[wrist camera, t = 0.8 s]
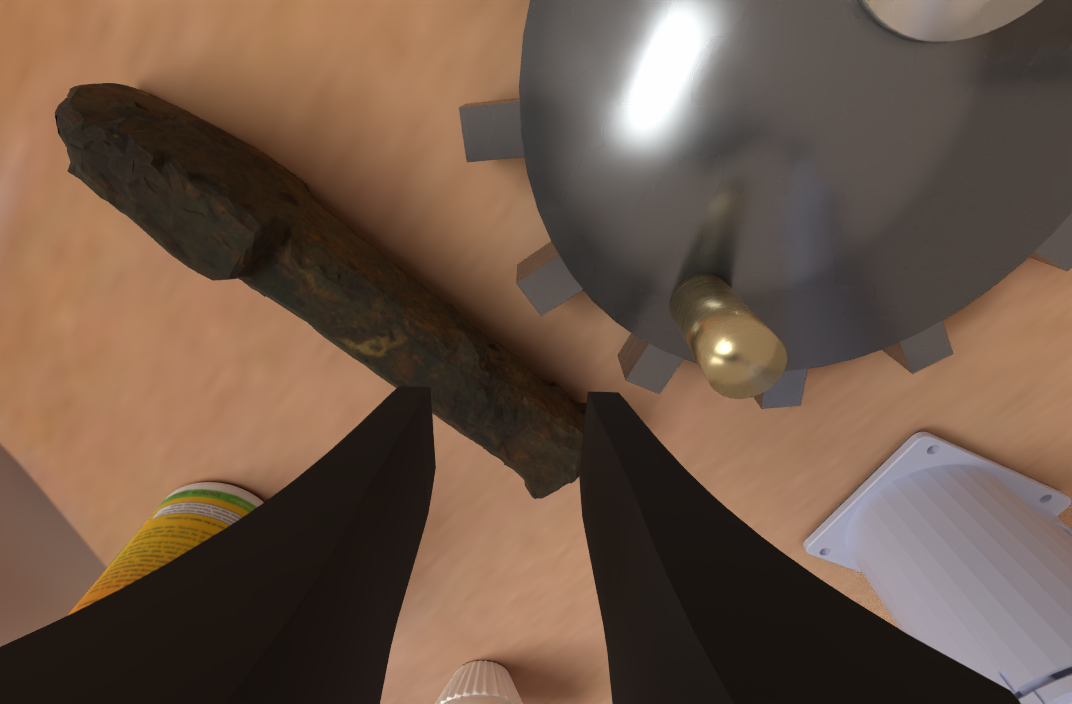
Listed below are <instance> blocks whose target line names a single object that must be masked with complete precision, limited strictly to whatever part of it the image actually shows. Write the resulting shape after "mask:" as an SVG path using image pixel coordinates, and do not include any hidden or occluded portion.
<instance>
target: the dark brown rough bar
mask: <svg viewBox="0 0 1072 704" xmlns="http://www.w3.org/2000/svg"><path fill="white" fill-rule="evenodd" d="M55 118H56V125H57V129H58V134H59V135H60V137H61V139H62V140H63V142H64V144H65V145H66V147H67V152H68V155H69V158H70V161H71V163H70V166H69V168H68V172H69V173H71V174H73V175H74V176H76V177H77V178H79V179H80V180H82V181H83V182H84V183H85V184H86V185H87V186H88V187H89V188H90V189H92V190H93V191H94V192H95V193H96V194H97V195H98V196H99V197H100V198H102V199H104V200H106V201H108V202H109V203H110V204H112V205H113V206H114V207H115V208H116V209H118V210H119V211H120V212H122V213H123V214H125V215H127V216H128V217H129V218H130V219H131V220H133V221H134V222H135V223H136V224H137V225H138V226H139V227H140V228H142V229H143V230H144V231H145V232H146V233H147V234H148V235H149V236H151V237H152V238H153V239H154V240H155V241H156V242H157V243H158V244H159V245H160V246H162V247H163V248H164V249H165V250H166V251H167V252H168V253H170V254H171V255H172V256H173V257H175V258H176V259H178V260H179V261H180V262H182V263H183V264H185V265H186V266H187V267H189V268H191V269H192V270H194V271H196V272H197V273H199V274H201V275H203V276H205V277H207V278H209V279H211V280H228V279H236V278H238V279H240V280H242V281H243V282H244V283H246V284H247V285H248V286H249V287H251V288H252V289H254V290H256V291H258V292H260V293H261V294H262V295H263V296H265V297H266V296H267V297H268V298H270V299H272V300H273V301H275V302H276V303H278V304H279V305H281V306H283V307H284V308H286V309H287V310H289V311H290V312H292V313H293V314H295V315H296V316H298V317H299V318H301V319H303V320H304V321H306V322H308V324H310V325H311V326H312V327H313V328H314V329H315V330H316V331H317V332H319V333H320V334H321V335H322V336H323V337H325V338H326V339H328V340H329V341H330V342H332V343H333V344H335V345H336V346H338V347H339V348H340V349H342V350H343V351H345V352H346V353H347V354H349V355H350V356H352V357H353V358H355V359H356V360H358V361H359V362H361V363H362V364H364V365H365V366H367V367H368V368H369V369H370V370H372V371H373V372H374V373H375V374H377V375H378V376H380V377H381V378H383V379H384V380H385V381H387V382H388V383H390V384H391V385H393V386H394V387H396V388H398V387H399V386H410V387H430V389H431V404H432V413H433V414H434V415H436V416H437V417H438V418H440V419H441V420H443V421H444V422H445V423H447V424H448V425H450V426H452V427H453V428H454V429H455V430H457V431H458V432H459V433H461V434H463V435H464V436H466V437H468V438H469V439H471V440H473V441H474V442H475V443H477V444H479V445H480V446H482V447H483V448H484V449H486V450H487V451H488V452H489V453H490V454H492V455H494V456H496V457H497V458H499V459H501V460H502V461H503V462H504V465H507V466H508V467H510V468H512V469H513V470H514V471H515V472H516V473H518V474H519V475H520V476H521V477H522V478H523V479H524V480H525V486H526V488H527V490H528V491H529V493H530V495H532V497H533V498H534V499H536V498H544V497H546V496H548V495H549V494H551V493H553V492H555V491H557V490H558V489H560V488H561V487H562V486H564V485H566V484H568V483H572V482H574V481H575V480H576V479H577V478H578V477H579V468H580V459H581V450H582V440H583V431H584V422H585V413H586V404H587V403H571V402H570V401H569V399H568V397H567V396H566V394H565V393H564V391H563V390H562V388H561V387H560V386H559V385H558V384H557V383H550V384H547V383H546V382H544V381H543V380H541V379H540V378H539V377H538V376H536V375H535V374H534V373H532V372H531V371H530V370H529V369H527V368H526V367H525V365H524V364H523V363H522V362H521V361H520V360H519V359H518V358H517V357H516V356H514V355H513V354H511V353H510V352H508V351H507V350H505V348H504V347H503V346H501V345H498V344H496V343H493V342H492V341H490V340H489V339H488V338H487V337H486V336H484V335H483V334H482V333H481V332H479V331H478V330H477V329H475V328H474V327H472V326H471V325H470V324H469V323H468V322H467V321H466V320H464V319H463V318H462V317H461V316H460V314H459V312H458V311H457V310H456V309H455V308H454V307H453V306H452V305H448V304H445V303H444V302H443V301H441V300H440V299H439V298H437V297H436V296H434V295H433V294H432V293H430V292H429V291H428V290H426V289H425V288H424V287H423V286H422V285H420V284H419V283H418V282H417V281H416V280H414V279H413V278H411V277H410V276H408V275H407V274H406V273H404V272H403V271H402V270H401V269H399V268H398V267H397V266H395V265H394V264H393V263H392V262H390V261H389V260H388V259H386V258H385V257H384V256H383V255H382V254H380V253H379V252H378V251H377V250H375V249H374V248H373V247H371V246H370V245H369V244H368V243H366V242H365V241H364V240H362V239H361V238H360V237H358V236H357V235H356V234H355V233H354V232H352V231H351V230H350V229H349V228H348V227H346V226H345V225H344V224H343V223H342V222H340V221H339V220H338V219H336V218H335V217H334V216H332V215H331V214H330V213H328V212H327V211H326V210H325V209H323V208H322V207H321V206H320V205H319V204H318V202H317V201H316V200H315V199H314V198H313V197H312V196H311V195H310V193H309V191H308V188H307V185H306V184H305V183H304V182H303V181H302V180H300V179H299V178H298V177H297V176H295V175H294V174H292V173H291V172H290V171H288V170H287V169H285V168H284V167H282V166H281V165H280V164H278V163H277V162H275V161H273V160H272V159H270V158H269V157H267V156H266V155H264V154H262V153H261V152H259V151H258V150H256V149H255V148H253V147H251V146H249V145H248V144H246V143H244V142H243V141H241V140H239V139H236V138H234V137H233V136H231V135H229V134H227V133H225V132H224V131H222V130H220V129H218V128H216V127H214V126H213V125H211V124H209V123H207V122H205V121H203V120H201V119H199V118H197V117H195V116H194V115H192V114H190V113H188V112H186V111H184V110H182V109H180V108H178V107H175V106H173V105H171V104H168V103H166V102H164V101H161V100H159V99H157V98H155V97H153V96H151V95H149V94H147V93H145V92H143V91H141V90H139V89H136V88H133V87H129V86H126V85H121V84H115V83H102V84H87V85H79V86H75V87H73V88H71V89H70V91H69V93H68V95H67V98H65V100H64V101H63V102H62V103H60V104H59V105H58V107H57V109H56V111H55Z"/></svg>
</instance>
